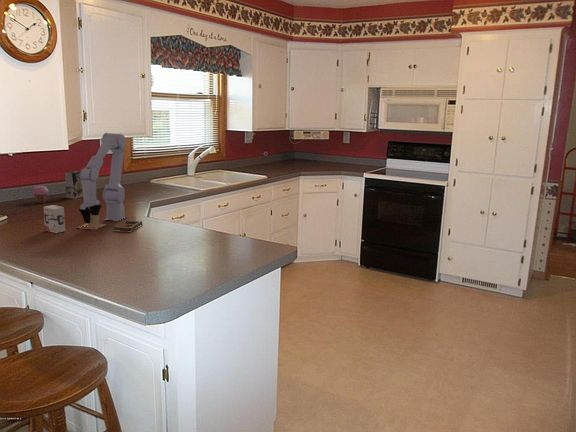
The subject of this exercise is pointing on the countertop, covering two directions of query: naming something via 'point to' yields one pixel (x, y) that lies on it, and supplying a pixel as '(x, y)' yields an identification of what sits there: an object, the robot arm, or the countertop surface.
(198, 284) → the countertop surface
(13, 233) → the countertop surface
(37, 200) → the cupcake
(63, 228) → the ink box
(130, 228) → the shelf bay
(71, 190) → the coffee box
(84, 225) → the plate
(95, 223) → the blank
